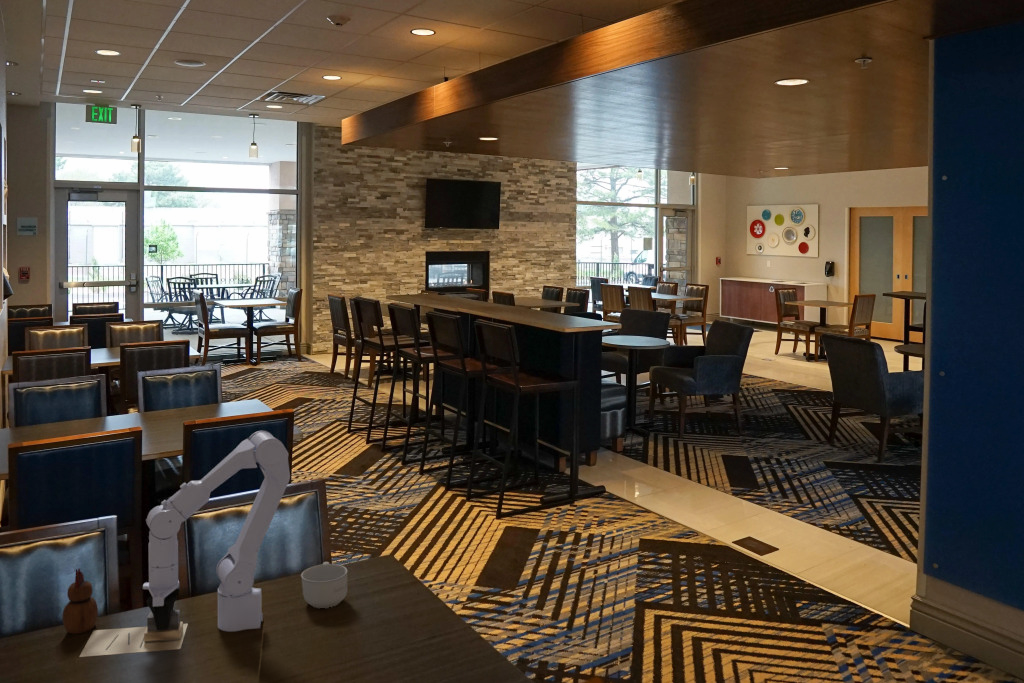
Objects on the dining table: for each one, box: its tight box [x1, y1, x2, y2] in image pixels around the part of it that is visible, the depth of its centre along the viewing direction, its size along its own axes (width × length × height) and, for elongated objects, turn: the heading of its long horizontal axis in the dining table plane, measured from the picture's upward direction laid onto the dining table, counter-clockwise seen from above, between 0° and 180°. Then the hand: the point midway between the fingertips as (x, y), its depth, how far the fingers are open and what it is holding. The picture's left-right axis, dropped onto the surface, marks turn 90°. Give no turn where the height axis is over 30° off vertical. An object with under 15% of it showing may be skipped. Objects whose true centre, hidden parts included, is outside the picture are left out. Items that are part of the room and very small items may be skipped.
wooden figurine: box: [62, 568, 99, 634], centre depth 176 cm, size 7×6×15 cm
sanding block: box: [144, 609, 184, 643], centre depth 174 cm, size 7×4×5 cm, turn 104°
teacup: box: [300, 561, 349, 609], centre depth 198 cm, size 14×11×8 cm
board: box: [78, 623, 189, 658], centre depth 173 cm, size 19×12×1 cm, turn 104°
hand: (164, 625), depth 174 cm, fingers closed on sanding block, 3 cm apart
